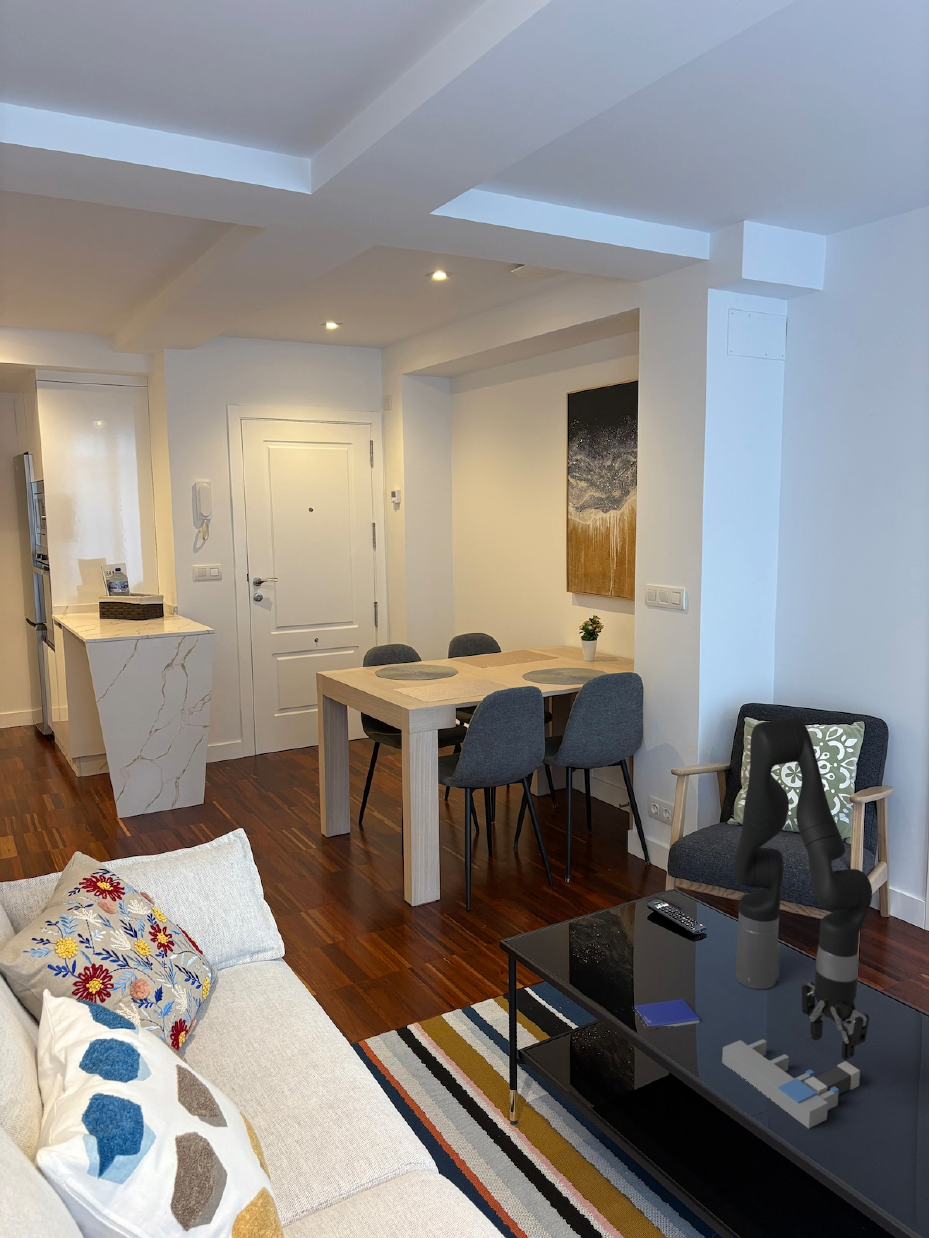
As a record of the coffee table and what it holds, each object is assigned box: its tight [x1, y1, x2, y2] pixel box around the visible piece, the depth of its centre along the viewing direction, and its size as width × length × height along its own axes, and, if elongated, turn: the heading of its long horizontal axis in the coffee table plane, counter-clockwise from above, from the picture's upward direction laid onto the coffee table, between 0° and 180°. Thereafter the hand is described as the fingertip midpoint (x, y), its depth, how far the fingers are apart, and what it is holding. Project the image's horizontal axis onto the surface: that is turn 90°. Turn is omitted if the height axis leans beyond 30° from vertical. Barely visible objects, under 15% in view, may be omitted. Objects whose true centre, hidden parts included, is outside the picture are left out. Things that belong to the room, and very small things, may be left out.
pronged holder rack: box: [721, 1038, 839, 1130], centre depth 180 cm, size 10×22×4 cm, turn 29°
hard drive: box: [633, 998, 701, 1027], centre depth 204 cm, size 2×8×12 cm
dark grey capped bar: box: [805, 1060, 861, 1096], centre depth 179 cm, size 12×3×3 cm, turn 119°
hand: (831, 1047), depth 177 cm, fingers open, 6 cm apart
